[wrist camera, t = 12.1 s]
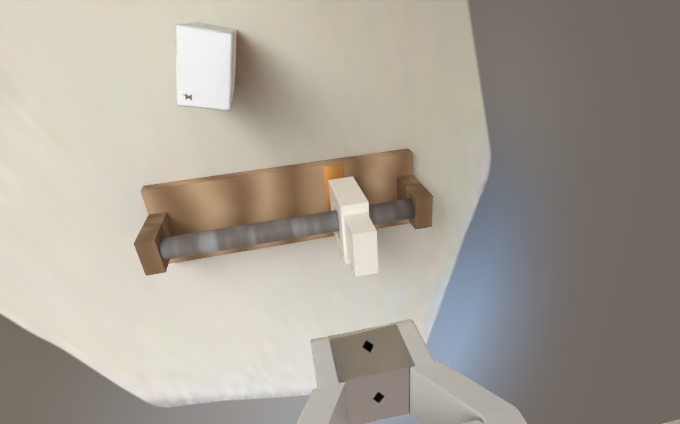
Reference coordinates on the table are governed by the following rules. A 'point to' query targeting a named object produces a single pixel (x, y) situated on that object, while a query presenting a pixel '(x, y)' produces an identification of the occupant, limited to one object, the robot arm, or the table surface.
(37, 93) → the table surface
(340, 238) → the collar
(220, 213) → the pipe stand
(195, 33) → the skincare box
